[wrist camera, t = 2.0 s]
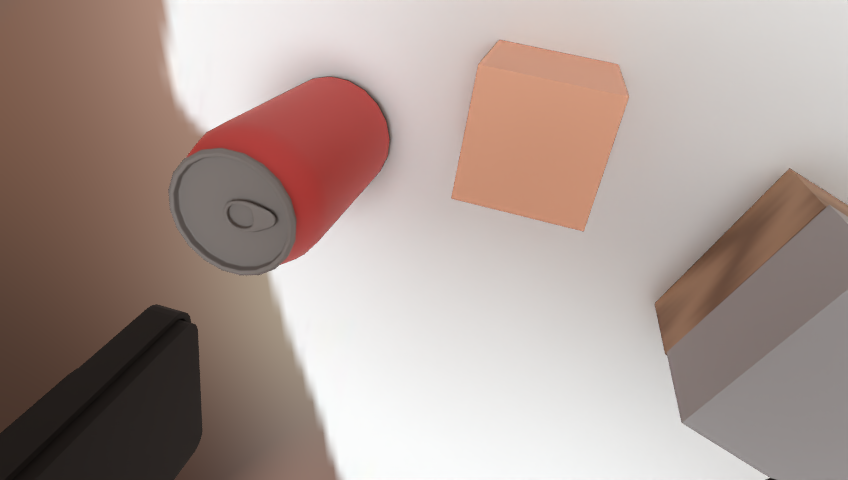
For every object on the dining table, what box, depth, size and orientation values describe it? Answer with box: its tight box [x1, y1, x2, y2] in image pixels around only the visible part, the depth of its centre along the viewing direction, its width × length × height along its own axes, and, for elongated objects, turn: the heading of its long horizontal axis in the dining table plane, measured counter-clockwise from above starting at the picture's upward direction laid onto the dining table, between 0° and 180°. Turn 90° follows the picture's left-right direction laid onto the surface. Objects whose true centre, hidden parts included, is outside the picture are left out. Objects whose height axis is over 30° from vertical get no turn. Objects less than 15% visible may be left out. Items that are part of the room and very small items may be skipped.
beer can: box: [169, 77, 390, 275], centre depth 28 cm, size 7×7×12 cm
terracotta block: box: [451, 40, 629, 231], centre depth 27 cm, size 6×6×7 cm
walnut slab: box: [655, 169, 848, 355], centre depth 29 cm, size 10×10×5 cm
